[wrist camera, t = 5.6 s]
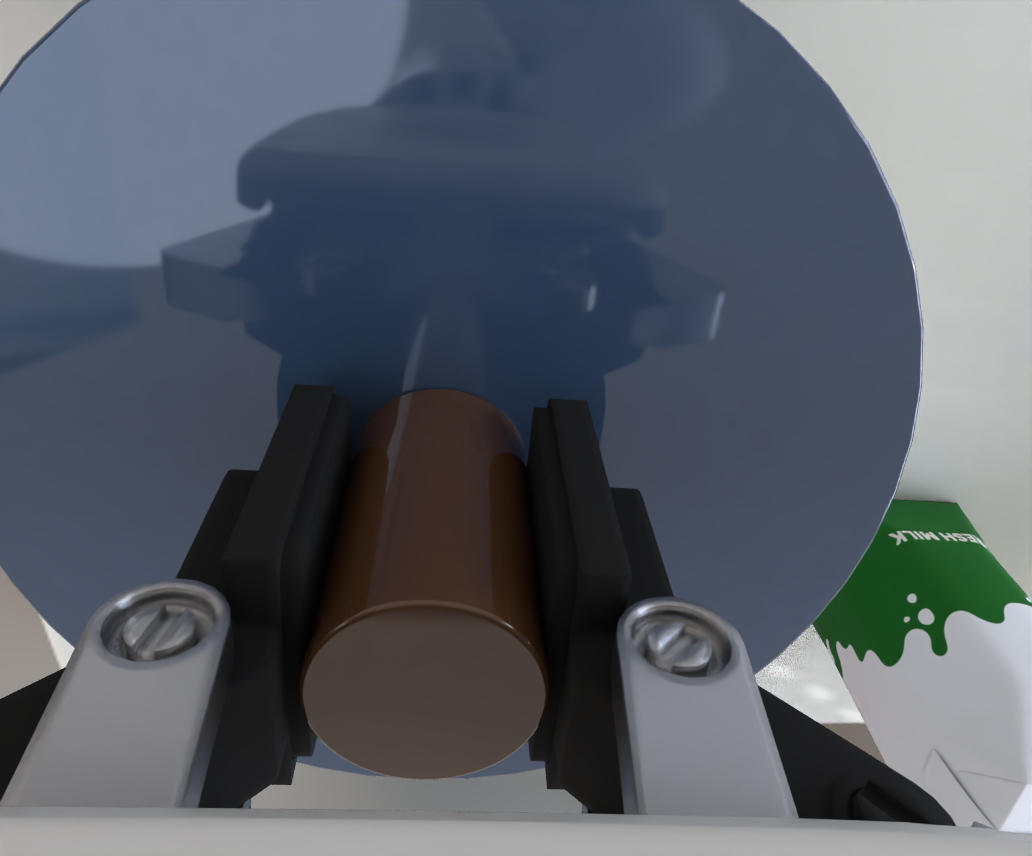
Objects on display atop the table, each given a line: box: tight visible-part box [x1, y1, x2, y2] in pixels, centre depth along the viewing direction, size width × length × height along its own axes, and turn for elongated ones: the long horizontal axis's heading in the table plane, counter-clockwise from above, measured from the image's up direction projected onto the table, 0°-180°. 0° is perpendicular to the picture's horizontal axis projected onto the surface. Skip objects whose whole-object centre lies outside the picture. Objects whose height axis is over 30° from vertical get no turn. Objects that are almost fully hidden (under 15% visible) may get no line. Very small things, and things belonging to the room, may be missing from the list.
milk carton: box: [812, 500, 1032, 835], centre depth 37 cm, size 9×9×20 cm
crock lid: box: [0, 0, 923, 780], centre depth 11 cm, size 15×15×6 cm
